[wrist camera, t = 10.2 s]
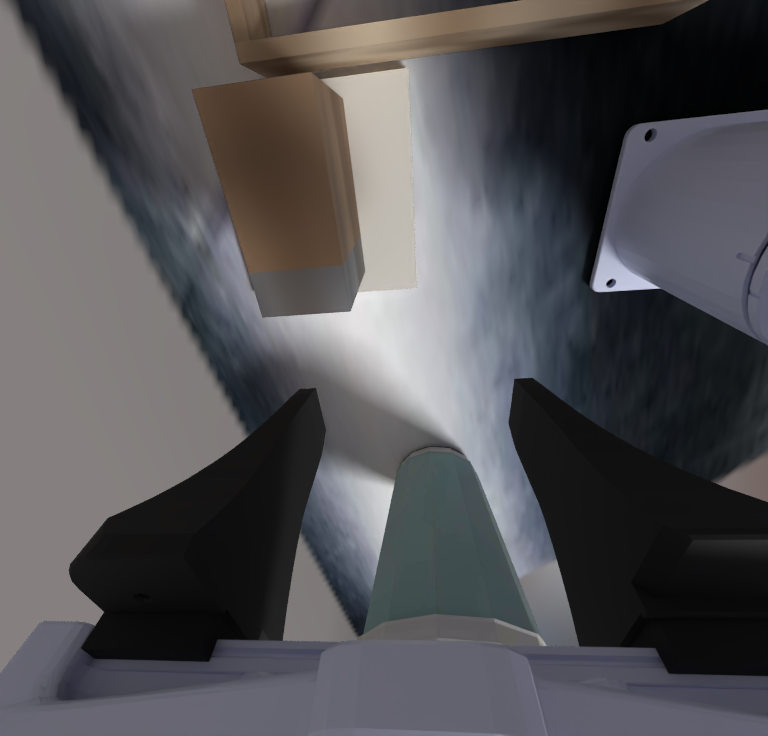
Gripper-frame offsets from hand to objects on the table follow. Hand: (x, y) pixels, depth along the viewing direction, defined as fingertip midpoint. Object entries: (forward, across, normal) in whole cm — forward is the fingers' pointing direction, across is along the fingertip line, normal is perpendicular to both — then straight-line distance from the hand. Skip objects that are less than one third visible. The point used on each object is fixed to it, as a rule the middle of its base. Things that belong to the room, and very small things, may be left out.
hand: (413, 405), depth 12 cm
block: (+10, +4, -6) cm, 12 cm away
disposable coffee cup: (+11, -2, +16) cm, 19 cm away
